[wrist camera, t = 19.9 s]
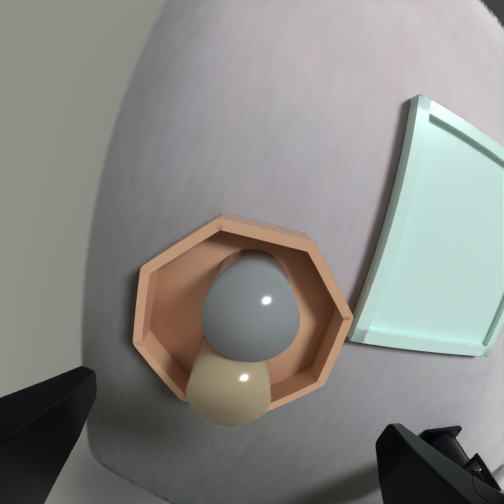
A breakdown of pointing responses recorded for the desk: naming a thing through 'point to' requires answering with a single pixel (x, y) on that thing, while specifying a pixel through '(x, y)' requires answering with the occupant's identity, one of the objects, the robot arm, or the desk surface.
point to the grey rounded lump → (250, 307)
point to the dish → (196, 289)
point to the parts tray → (439, 242)
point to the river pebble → (227, 388)
